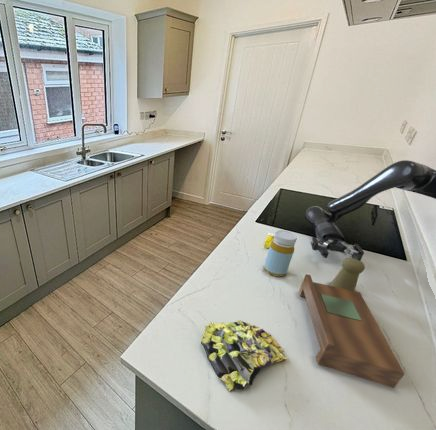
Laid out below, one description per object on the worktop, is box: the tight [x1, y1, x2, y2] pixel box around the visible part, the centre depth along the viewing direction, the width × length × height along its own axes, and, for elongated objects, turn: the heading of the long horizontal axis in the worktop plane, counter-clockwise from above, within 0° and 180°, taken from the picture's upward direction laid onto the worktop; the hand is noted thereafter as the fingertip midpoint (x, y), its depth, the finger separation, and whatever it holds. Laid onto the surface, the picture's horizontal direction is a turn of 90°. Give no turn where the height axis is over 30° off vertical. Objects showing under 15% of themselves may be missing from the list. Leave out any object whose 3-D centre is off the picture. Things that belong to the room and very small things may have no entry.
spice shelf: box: [298, 273, 406, 388], centre depth 69 cm, size 14×26×7 cm, turn 156°
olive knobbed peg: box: [329, 257, 366, 291], centre depth 82 cm, size 6×6×11 cm
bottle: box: [263, 229, 298, 277], centre depth 90 cm, size 7×7×15 cm
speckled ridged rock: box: [200, 320, 288, 392], centre depth 64 cm, size 20×16×7 cm
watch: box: [263, 232, 275, 249], centre depth 105 cm, size 6×3×6 cm, turn 130°
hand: (341, 258), depth 88 cm, fingers open, 8 cm apart
